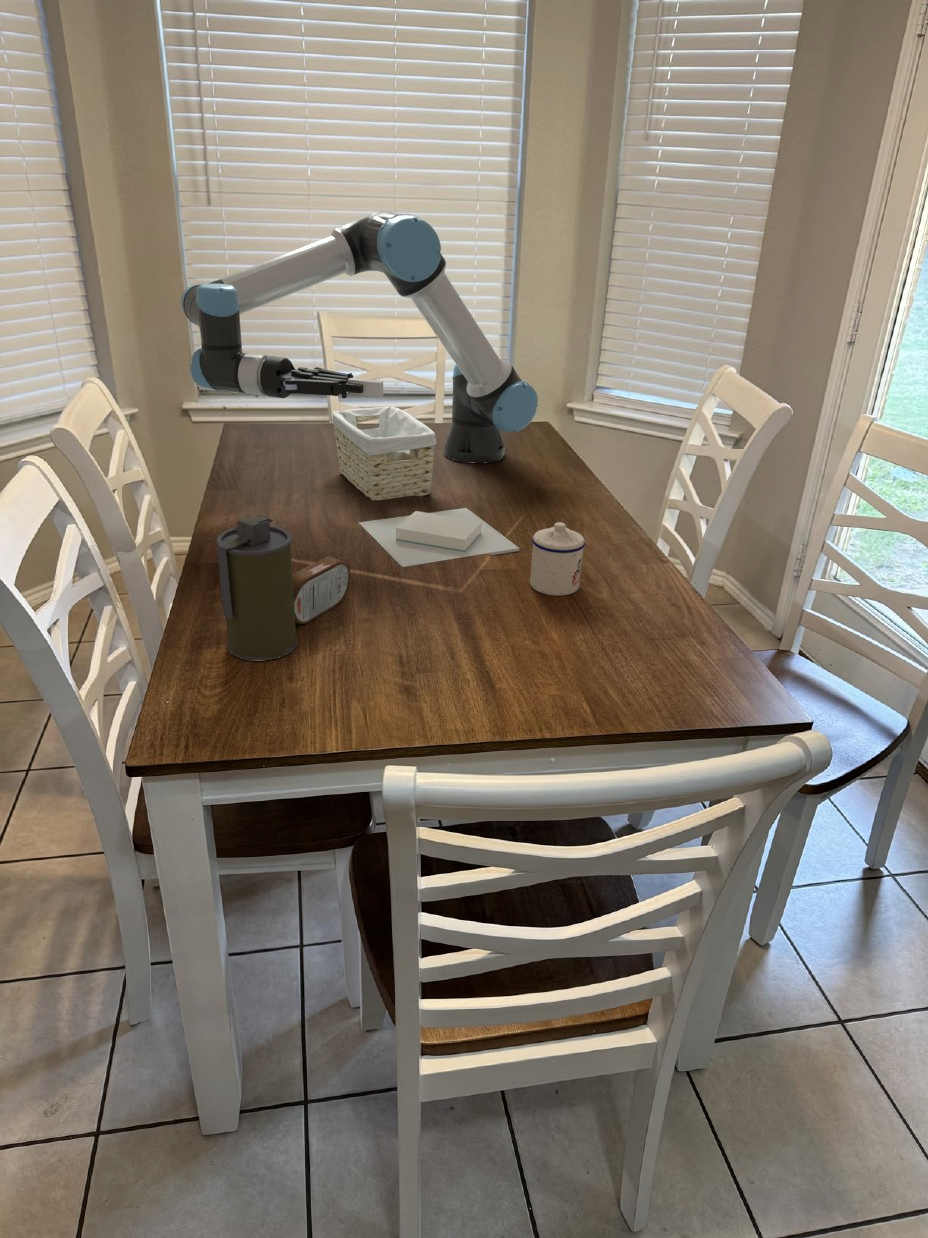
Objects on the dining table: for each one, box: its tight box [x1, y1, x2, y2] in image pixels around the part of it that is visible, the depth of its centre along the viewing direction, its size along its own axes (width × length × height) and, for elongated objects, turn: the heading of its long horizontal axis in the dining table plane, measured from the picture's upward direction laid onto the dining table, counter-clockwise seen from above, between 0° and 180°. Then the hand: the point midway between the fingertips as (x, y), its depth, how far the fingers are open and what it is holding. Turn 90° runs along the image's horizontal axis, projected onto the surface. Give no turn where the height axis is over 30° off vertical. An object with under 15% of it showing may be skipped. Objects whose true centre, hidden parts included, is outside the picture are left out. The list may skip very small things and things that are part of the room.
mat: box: [358, 507, 520, 568], centre depth 172 cm, size 24×23×1 cm
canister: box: [215, 514, 299, 661], centre depth 128 cm, size 11×10×20 cm
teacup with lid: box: [529, 521, 586, 597], centre depth 153 cm, size 12×9×12 cm
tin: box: [292, 556, 351, 625], centre depth 140 cm, size 15×3×8 cm, turn 149°
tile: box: [396, 510, 482, 552], centre depth 170 cm, size 2×10×14 cm
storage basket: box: [331, 405, 437, 501], centre depth 195 cm, size 24×16×15 cm
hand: (381, 389), depth 162 cm, fingers closed
